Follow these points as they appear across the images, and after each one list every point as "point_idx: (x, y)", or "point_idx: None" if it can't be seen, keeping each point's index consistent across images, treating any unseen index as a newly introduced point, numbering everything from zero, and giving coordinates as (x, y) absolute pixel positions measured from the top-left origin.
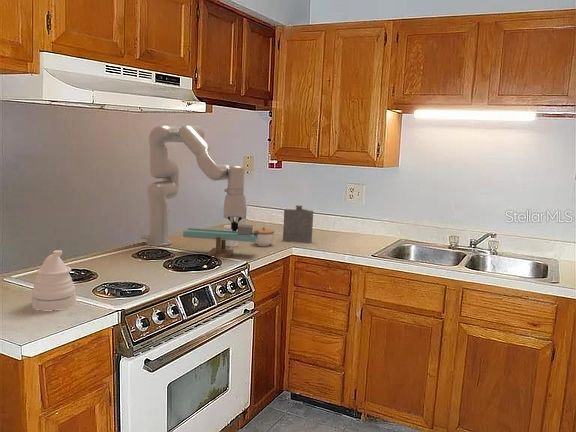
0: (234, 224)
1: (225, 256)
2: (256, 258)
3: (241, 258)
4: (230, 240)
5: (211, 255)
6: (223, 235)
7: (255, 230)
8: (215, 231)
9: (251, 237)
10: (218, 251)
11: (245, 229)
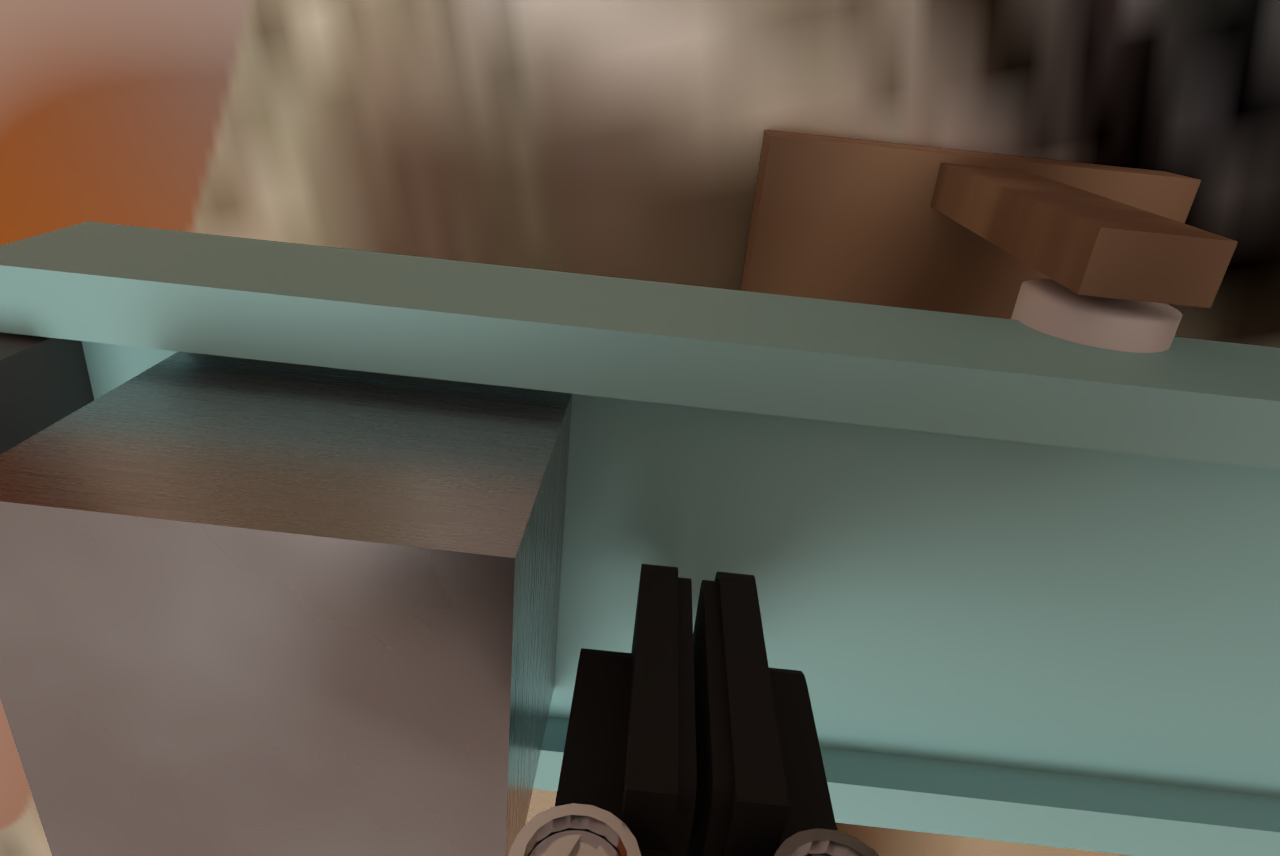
0: (686, 747)
1: (823, 136)
2: (266, 190)
3: (524, 145)
4: None
5: (1096, 165)
6: (1015, 355)
7: None
8: (1187, 790)
9: (117, 262)
10: (992, 170)
11: (224, 472)
